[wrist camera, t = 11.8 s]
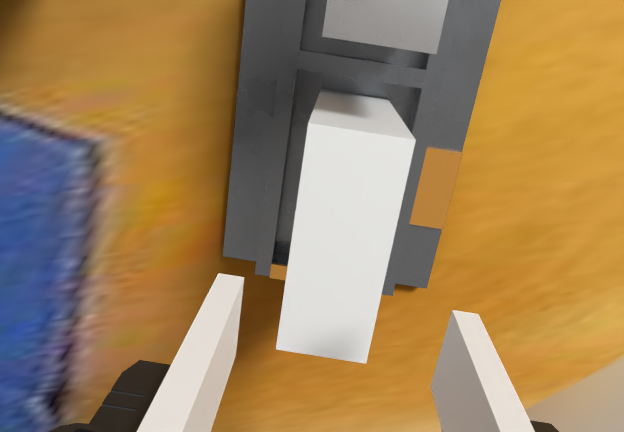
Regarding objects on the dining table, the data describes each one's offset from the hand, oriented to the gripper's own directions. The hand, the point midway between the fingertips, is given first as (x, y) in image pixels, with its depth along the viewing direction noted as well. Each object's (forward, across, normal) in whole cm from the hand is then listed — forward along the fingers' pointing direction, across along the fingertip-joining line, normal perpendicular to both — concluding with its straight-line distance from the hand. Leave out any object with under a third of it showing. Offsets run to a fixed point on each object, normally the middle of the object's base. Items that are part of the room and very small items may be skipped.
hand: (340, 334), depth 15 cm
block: (+18, 0, 0) cm, 18 cm away
